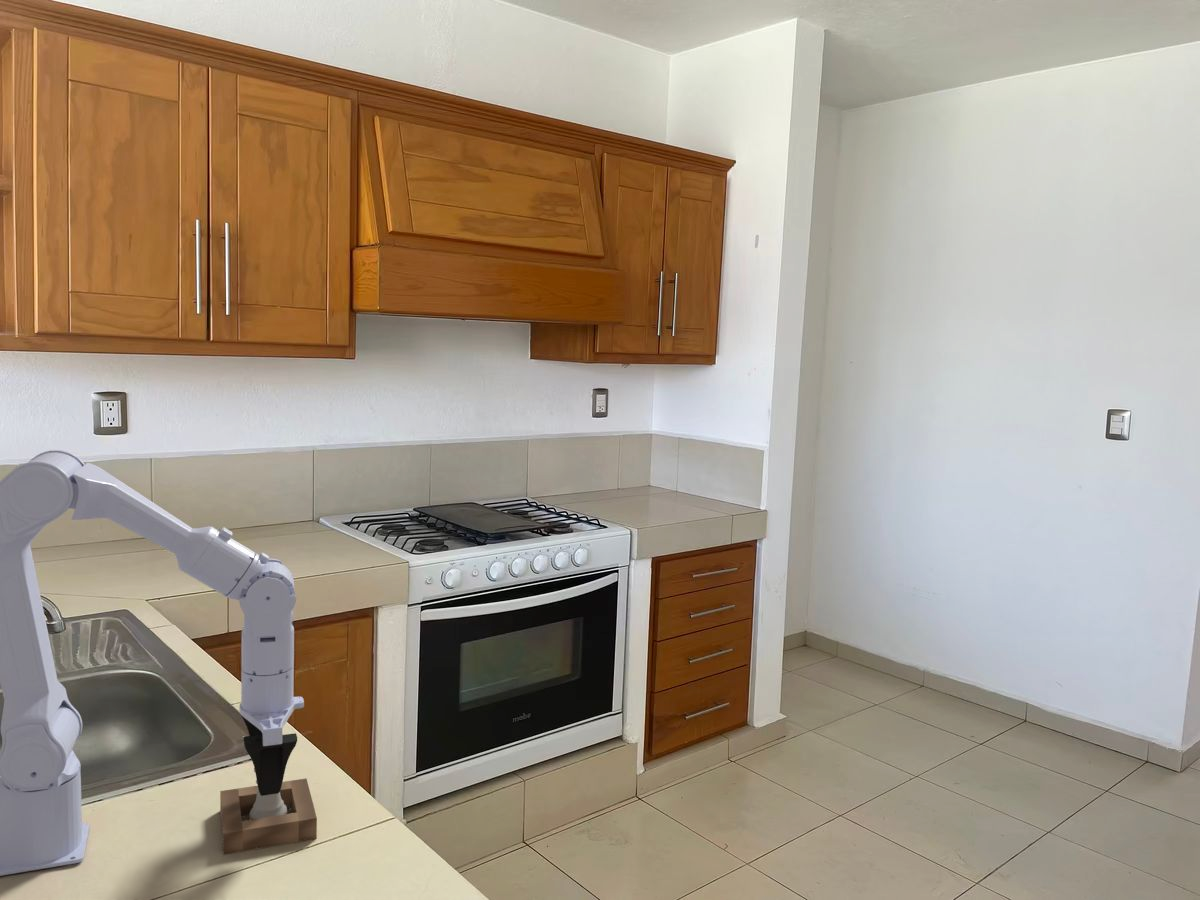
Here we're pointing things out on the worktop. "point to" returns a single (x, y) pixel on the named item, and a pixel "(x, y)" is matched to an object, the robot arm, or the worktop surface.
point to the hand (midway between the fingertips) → (267, 777)
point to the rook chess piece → (267, 806)
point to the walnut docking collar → (267, 818)
